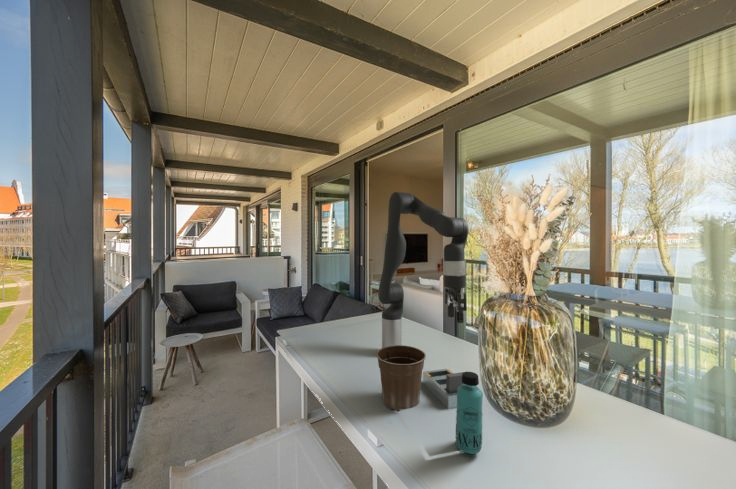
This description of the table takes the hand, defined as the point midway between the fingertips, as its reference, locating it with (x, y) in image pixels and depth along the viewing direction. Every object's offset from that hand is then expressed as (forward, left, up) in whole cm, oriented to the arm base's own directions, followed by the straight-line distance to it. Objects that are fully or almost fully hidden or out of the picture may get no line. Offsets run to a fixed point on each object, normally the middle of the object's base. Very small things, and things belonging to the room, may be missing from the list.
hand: (455, 319), depth 107 cm
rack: (+1, -4, -26) cm, 26 cm away
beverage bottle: (+27, -13, -26) cm, 40 cm away
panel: (+7, -4, -25) cm, 26 cm away
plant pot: (+1, -21, -26) cm, 33 cm away
